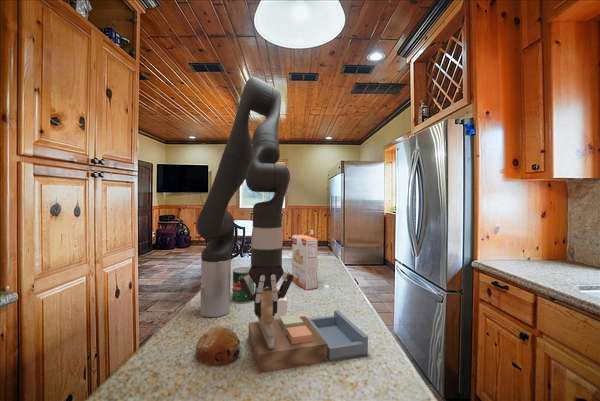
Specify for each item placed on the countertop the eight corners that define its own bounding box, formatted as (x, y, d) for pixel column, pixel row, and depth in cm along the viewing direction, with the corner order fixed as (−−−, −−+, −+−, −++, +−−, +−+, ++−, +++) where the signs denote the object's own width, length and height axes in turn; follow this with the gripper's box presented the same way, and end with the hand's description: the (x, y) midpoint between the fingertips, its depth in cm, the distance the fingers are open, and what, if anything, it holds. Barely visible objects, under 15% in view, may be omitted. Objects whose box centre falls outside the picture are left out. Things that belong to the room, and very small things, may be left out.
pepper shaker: (274, 321, 88) (274, 290, 88) (272, 315, 92) (272, 286, 91) (287, 319, 89) (287, 289, 89) (284, 314, 93) (284, 285, 92)
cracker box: (290, 281, 129) (291, 234, 129) (302, 279, 132) (303, 234, 132) (304, 290, 117) (305, 239, 116) (317, 288, 119) (318, 238, 119)
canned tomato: (228, 302, 103) (228, 271, 102) (238, 294, 110) (238, 266, 110) (248, 304, 101) (249, 273, 101) (257, 297, 108) (257, 267, 108)
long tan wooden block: (265, 349, 63) (265, 299, 63) (255, 322, 77) (255, 281, 77) (277, 347, 64) (278, 298, 64) (265, 321, 78) (266, 280, 77)
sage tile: (284, 330, 73) (284, 324, 73) (279, 322, 78) (279, 316, 78) (303, 328, 75) (303, 322, 75) (297, 320, 79) (297, 314, 79)
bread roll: (228, 356, 75) (220, 324, 77) (252, 352, 69) (243, 317, 71) (193, 373, 67) (185, 338, 69) (216, 370, 61) (208, 332, 63)
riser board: (258, 372, 62) (258, 354, 62) (248, 337, 77) (248, 322, 77) (327, 360, 67) (327, 343, 67) (304, 330, 82) (305, 316, 82)
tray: (329, 361, 67) (329, 342, 67) (305, 329, 83) (306, 313, 83) (367, 355, 70) (368, 336, 70) (337, 324, 86) (337, 309, 86)
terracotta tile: (291, 344, 66) (292, 337, 66) (286, 334, 71) (286, 327, 71) (312, 341, 68) (312, 334, 68) (305, 331, 73) (305, 325, 73)
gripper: (290, 242, 76) (289, 307, 76) (236, 243, 72) (234, 312, 72) (298, 247, 69) (297, 319, 69) (239, 249, 64) (237, 325, 65)
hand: (265, 315), depth 70 cm, fingers closed on long tan wooden block, 2 cm apart
